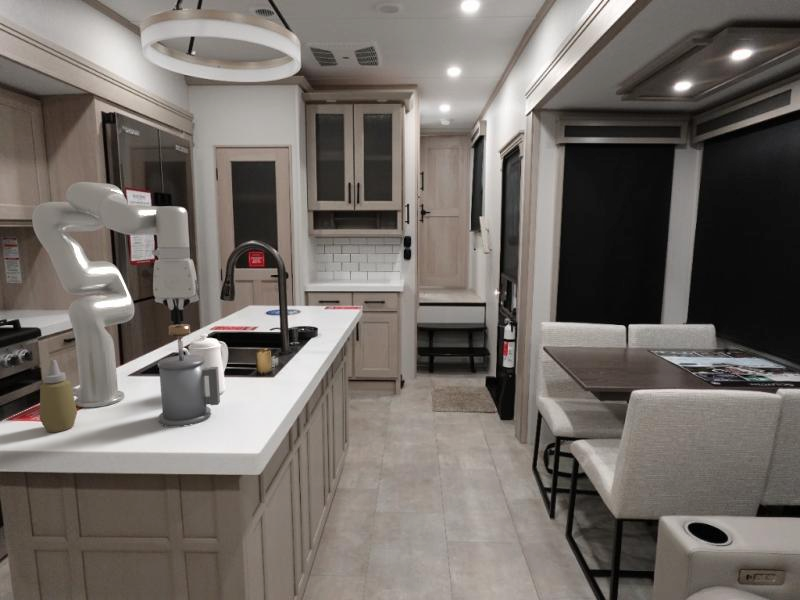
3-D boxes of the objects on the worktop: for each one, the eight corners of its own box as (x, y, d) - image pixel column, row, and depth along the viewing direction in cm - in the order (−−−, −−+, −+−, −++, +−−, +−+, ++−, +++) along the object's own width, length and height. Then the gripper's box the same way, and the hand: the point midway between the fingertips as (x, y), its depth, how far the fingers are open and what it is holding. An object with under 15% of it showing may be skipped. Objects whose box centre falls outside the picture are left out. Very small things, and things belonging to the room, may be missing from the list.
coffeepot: (164, 406, 145) (160, 342, 142) (213, 380, 169) (210, 326, 166) (198, 408, 143) (194, 344, 140) (242, 382, 167) (240, 327, 164)
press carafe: (151, 428, 129) (147, 367, 126) (167, 410, 141) (163, 355, 139) (214, 424, 131) (211, 365, 129) (224, 407, 144) (221, 353, 141)
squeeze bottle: (37, 436, 124) (29, 366, 121) (45, 425, 131) (38, 358, 128) (75, 431, 127) (68, 362, 124) (81, 420, 134) (74, 355, 132)
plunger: (168, 362, 131) (165, 328, 130) (174, 357, 136) (171, 324, 135) (189, 361, 132) (186, 327, 130) (194, 356, 137) (192, 323, 135)
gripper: (138, 255, 125) (143, 327, 128) (200, 255, 127) (204, 326, 130) (148, 254, 132) (153, 321, 135) (207, 253, 135) (211, 320, 137)
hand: (178, 323), depth 132 cm, fingers closed
